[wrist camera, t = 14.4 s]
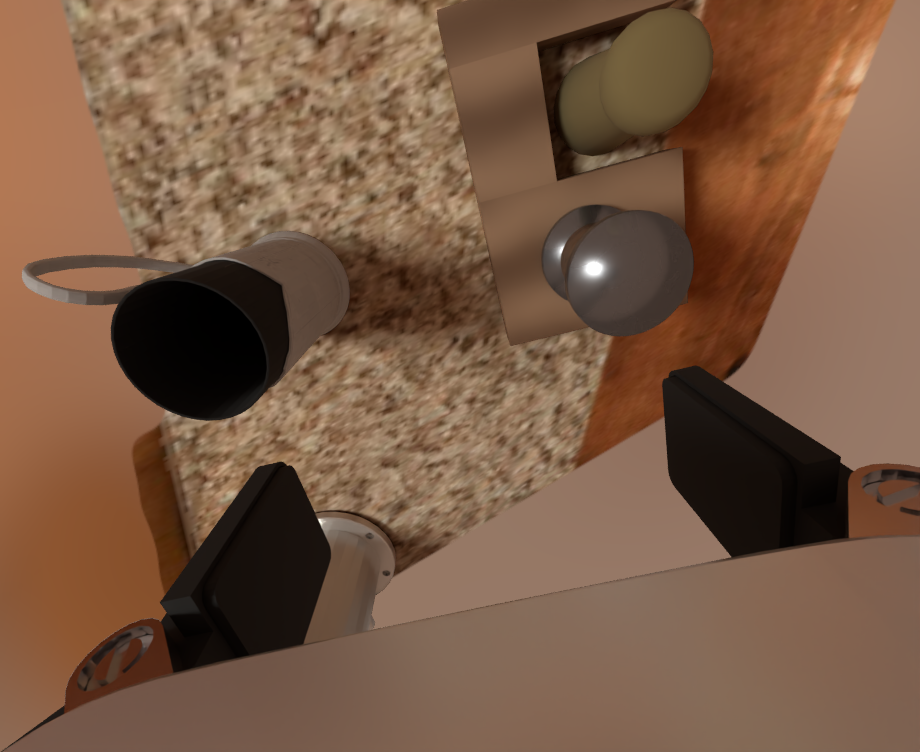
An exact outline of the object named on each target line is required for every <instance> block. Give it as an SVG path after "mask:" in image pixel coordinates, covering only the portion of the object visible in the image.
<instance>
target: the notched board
mask: <svg viewBox="0 0 920 752" xmlns="http://www.w3.org/2000/svg"><path fill="white" fill-rule="evenodd" d="M675 1H676V0H467V1H464V2H461V3H458V4H455V5H451V6H448V7H445V8H442V9H439V10H437V17H438V26H439V30H440V35H441V39H442V44H443V48H444V53H445V57H446V62H447V66H448V71H449V75H450V80H451V85H452V89H453V94H454V98H455V103H456V107H457V112H458V116H459V121H460V125H461V130H462V134H463V139H464V143H465V148H466V152H467V157H468V161H469V166H470V170H471V175H472V179H473V184H474V188H475V193H476V197H477V202H478V207H479V211H480V216H481V220H482V225H483V229H484V234H485V238H486V243H487V247H488V252H489V256H490V261H491V265H492V270H493V274H494V279H495V283H496V288H497V292H498V297H499V301H500V306H501V310H502V315H503V320H504V324H505V329H506V333H507V337H508V340H509V343H510V346H513V345H517V344H521V343H525V342H529V341H534V340H538V339H542V338H546V337H550V336H554V335H558V334H562V333H567V332H571V331H575V330H579V329H583V328H587V327H589V326H588V325H586V324H585V323H584V322H583V321H582V320H581V319H580V318H579V317H578V316H577V314H576V313H575V312H574V310H573V309H572V307H571V305H570V303H569V301H567V300H565V299H563V298H562V297H560V296H559V295H558V294H557V293H556V292H555V291H554V290H553V289H552V288H551V287H550V285H549V284H548V282H547V281H546V279H545V276H544V274H543V270H542V263H541V255H542V248H543V245H544V241H545V239H546V237H547V235H548V233H549V231H550V229H551V228H552V227H553V225H554V224H555V223H556V222H557V221H558V220H559V219H560V218H561V217H562V216H563V215H565V214H566V213H568V212H569V211H571V210H573V209H575V208H578V207H581V206H585V205H591V204H598V205H607V206H611V207H614V208H616V209H618V210H620V211H626V210H646V211H652V212H656V213H660V214H662V215H665V216H667V217H668V218H670V219H672V220H673V221H674V222H676V223H677V224H678V225H679V226H680V227H681V228H682V230H683V231H684V232H685V205H684V177H683V149H682V147H679V148H673V149H667V150H663V151H659V152H656V153H652V154H648V155H645V156H641V157H637V158H634V159H630V160H627V161H623V162H619V163H616V164H612V165H608V166H605V167H601V168H598V169H594V170H590V171H587V172H583V173H579V174H576V175H572V176H569V177H565V178H561V179H558V180H557V178H556V172H555V165H554V158H553V151H552V145H551V138H550V131H549V124H548V117H547V111H546V104H545V97H544V90H543V83H542V77H541V70H540V63H539V56H538V51H541V50H545V49H548V48H551V47H554V46H558V45H561V44H564V43H568V42H571V41H574V40H577V39H581V38H584V37H587V36H591V35H594V34H597V33H600V32H604V31H607V30H610V29H613V28H617V27H620V26H623V25H627V24H630V23H631V22H633V21H634V20H636V19H638V18H639V17H641V16H643V15H644V14H646V13H648V12H651V11H656V10H661V9H666V8H667V7H669V6H670V5H671V4H672V3H673V2H675ZM685 234H686V233H685ZM686 303H688V291H687V293H686V295H685V297H684V298H683V300H682V302H681V303H680V304H679V305H682V304H686Z"/></svg>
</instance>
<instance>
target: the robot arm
mask: <svg viewBox="0 0 920 752" xmlns="http://www.w3.org/2000/svg"><path fill="white" fill-rule="evenodd" d="M662 387H663V402H664V416H665V430H666V445H667V459H668V471H669V476H670V479H671V481H672V483H673V485H674V486H675V488H676V489H677V490H678V492H679V493H680V494H681V495H682V496H683V498H684V499H685V500H686V501H687V503H688V504H689V505H690V506H691V507H692V509H693V510H694V511H695V512H696V514H697V515H698V516H699V517H700V519H701V520H702V521H703V522H704V523H705V525H706V526H707V527H708V528H709V530H710V531H711V532H712V533H713V534H714V536H715V537H716V538H717V539H718V541H719V542H720V543H721V544H722V546H723V547H724V548H725V549H726V551H727V552H728V553H729V554H730V556H731V558H726V559H721V560H716V561H711V562H706V563H701V564H696V565H691V566H686V567H681V568H676V569H671V570H666V571H661V572H655V573H650V574H645V575H640V576H635V577H630V578H625V579H620V580H616V581H610V582H605V583H600V584H596V585H590V586H585V587H580V588H575V589H570V590H565V591H560V592H555V593H550V594H546V595H540V596H536V597H530V598H525V599H520V600H515V601H510V602H505V603H500V604H495V605H491V606H486V607H481V608H476V609H471V610H467V611H461V612H457V613H452V614H447V615H442V616H437V617H432V618H427V619H422V620H418V621H413V622H408V623H403V624H398V625H393V626H388V627H383V628H378V629H374V630H372V629H373V628H374V625H375V621H374V619H373V618H372V615H371V614H372V609H373V604H374V599H375V595H377V594H378V593H380V592H381V591H382V590H383V589H384V588H385V587H386V586H387V585H388V584H389V583H390V581H391V579H392V577H393V574H394V570H395V563H396V555H395V550H394V547H393V545H392V543H391V541H390V539H389V538H388V537H387V535H386V534H385V533H384V532H383V531H382V530H381V529H380V528H379V527H377V526H376V525H374V524H373V523H371V522H370V521H368V520H365V519H363V518H361V517H359V516H355V515H352V514H348V513H341V512H321V513H315V512H314V510H313V508H312V506H311V503H310V501H309V499H308V497H307V495H306V493H305V491H304V488H303V486H302V484H301V482H300V480H299V478H298V475H297V473H296V471H295V469H294V468H293V467H292V466H290V465H289V466H287V465H286V464H285V463H284V462H277V463H273V464H268V465H264V466H260V467H258V468H257V469H256V470H255V471H254V473H253V474H252V476H251V477H250V478H249V480H248V481H247V482H246V484H245V485H244V487H243V488H242V489H241V491H240V492H239V494H238V495H237V496H236V498H235V499H234V500H233V502H232V503H231V505H230V506H229V507H228V509H227V510H226V512H225V513H224V514H223V516H222V517H221V519H220V520H219V521H218V523H217V524H216V525H215V527H214V528H213V530H212V531H211V532H210V534H209V535H208V537H207V538H206V539H205V541H204V542H203V543H202V545H201V546H200V548H199V549H198V550H197V552H196V553H195V555H194V556H193V557H192V559H191V560H190V562H189V563H188V564H187V566H186V567H185V568H184V570H183V571H182V573H181V574H180V575H179V577H178V578H177V580H176V581H175V582H174V584H173V585H172V586H171V588H170V589H169V591H168V592H167V593H166V595H165V596H164V598H163V599H162V600H161V602H160V604H161V605H162V606H163V608H164V609H165V610H166V612H167V613H166V615H165V616H164V618H163V619H162V621H161V622H160V621H159V620H157V619H153V618H149V619H142V620H139V621H137V622H134V623H131V624H128V625H127V626H125V627H123V628H121V629H120V630H118V631H116V632H114V633H113V634H112V635H110V636H109V637H107V638H106V639H105V640H103V641H102V642H101V643H99V644H98V645H97V646H96V647H95V648H94V649H93V650H92V651H91V652H90V653H88V654H87V656H86V657H85V658H84V659H83V660H82V661H81V662H80V664H79V665H78V666H77V667H76V669H75V670H74V672H73V674H72V676H71V677H70V678H69V681H68V684H67V688H66V692H65V705H64V706H63V707H62V708H60V709H59V710H58V711H56V712H55V713H54V714H52V715H51V716H49V717H48V718H47V719H45V720H44V721H43V722H41V723H40V724H38V725H37V726H36V727H34V728H33V729H32V730H30V731H29V732H28V733H26V734H25V735H23V736H22V737H21V738H19V739H18V740H17V741H15V742H14V743H12V744H11V745H10V746H8V747H7V748H6V749H4V750H3V751H2V752H920V467H915V466H910V465H901V464H873V465H869V466H865V467H861V468H858V469H857V470H856V471H852V470H851V469H849V468H848V467H846V466H845V465H843V464H842V463H840V460H841V457H840V456H839V455H837V454H836V453H834V452H832V451H831V450H829V449H828V448H826V447H825V446H823V445H822V444H820V443H818V442H817V441H815V440H814V439H812V438H811V437H809V436H807V435H806V434H804V433H803V432H801V431H800V430H798V429H796V428H795V427H793V426H792V425H790V424H789V423H787V422H785V421H784V420H782V419H781V418H779V417H778V416H776V415H774V414H773V413H771V412H770V411H768V410H767V409H765V408H763V407H762V406H760V405H759V404H757V403H755V402H754V401H752V400H751V399H749V398H748V397H746V396H744V395H743V394H741V393H740V392H738V391H737V390H735V389H733V388H732V387H730V386H729V385H727V384H726V383H724V382H722V381H721V380H719V379H718V378H716V377H715V376H713V375H711V374H710V373H708V372H707V371H705V370H704V369H702V368H700V367H699V366H692V367H687V368H683V369H679V370H674V371H671V372H670V373H669V378H666V379H664V380H663V383H662Z"/></svg>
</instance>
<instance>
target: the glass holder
mask: <svg viewBox="0 0 920 752" xmlns="http://www.w3.org/2000/svg"><path fill="white" fill-rule="evenodd" d="M89 267H123V268H140V269H150V270H158V271H166V272H174V273H173V274H169V275H166V276H163V277H160V278H157V279H153V280H150V281H147V282H145V283H143V284H141V285H136V286H131V287H128V288H124V289H119V290H113V291H81V290H75V289H67V288H63V287H59V286H55V285H52V284H50V283H47V282H44V281H42V280H41V279H39V278H37V277H36V276H39V275H42V274H45V273H48V272H54V271H61V270H67V269H75V268H89ZM22 279H23V281H24V283H25V285H26V286H27V288H29V289H31V290H32V291H34V292H36V293H37V294H40V295H43V296H45V297H48V298H50V299H54V300H58V301H63V302H67V303H75V304H83V305H109V304H118V303H119V304H118V305H117V308H116V310H115V312H114V315H113V319H112V325H111V341H112V345H113V350H114V353H115V356H116V358H117V360H118V363H119V365H120V367H121V368H122V370H123V372H124V373H125V375H126V376H127V378H128V379H129V380H130V381H131V383H132V384H133V385H134V386H135V387H136V388H137V389H138V390H139V391H140V392H141V393H142V394H143V395H144V396H145V397H147V398H148V399H150V400H151V401H152V402H154V403H155V404H156V405H158V406H160V407H162V408H164V409H166V410H168V411H170V412H172V413H175V414H177V415H180V416H183V417H187V418H191V419H196V420H207V421H209V420H222V419H226V418H231V417H234V416H236V415H238V414H241V413H243V412H244V411H246V410H247V409H249V408H250V407H251V406H252V405H253V404H254V403H255V402H256V401H257V400H258V399H259V398H260V397H261V396H262V395H263V394H264V393H265V392H266V391H267V390H268V388H270V387H273V386H275V385H276V384H277V383H278V382H279V381H280V380H281V379H282V378H283V377H284V376H285V375H286V373H287V372H288V371H289V370H290V369H291V368H292V367H293V366H294V364H295V363H296V362H297V361H298V360H299V359H300V358H301V357H302V356H303V354H304V353H305V352H306V351H307V350H308V349H309V348H310V347H311V345H312V344H313V343H314V342H315V341H316V340H317V339H318V338H319V336H321V335H323V334H326V333H328V332H329V331H330V330H332V329H333V328H335V327H336V326H337V325H338V324H339V323H340V321H341V320H342V318H343V317H344V315H345V313H346V310H347V308H348V304H349V299H350V287H349V281H348V278H347V275H346V272H345V269H344V267H343V266H342V264H341V262H340V260H339V259H338V258H337V256H336V255H335V254H334V253H333V252H332V251H331V250H330V249H329V248H328V247H327V246H326V245H325V244H323V243H322V242H320V241H319V240H317V239H315V238H313V237H311V236H309V235H306V234H303V233H300V232H294V231H279V232H275V233H271V234H268V235H266V236H264V237H262V238H260V239H259V240H258V241H256V242H255V243H254V244H253V245H252V246H250V247H246V248H243V249H240V250H236V251H233V252H229V253H226V254H223V255H219V256H216V257H213V258H209V259H206V260H203V261H201V262H199V263H197V264H195V265H189V264H183V263H177V262H170V261H163V260H156V259H149V258H141V257H134V256H114V255H81V256H64V257H57V258H50V259H43V260H39V261H36V262H33V263H29V264H27V265H26V267H25V268H24V269H23V271H22Z"/></svg>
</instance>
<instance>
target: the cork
mask: <svg viewBox="0 0 920 752" xmlns="http://www.w3.org/2000/svg"><path fill="white" fill-rule="evenodd" d="M712 66H713V49H712V45H711V40H710V36H709V33H708V32H707V30H706V29H705V27H704V26H703V24H702V22H701V21H700V20H699V19H698V18H696V17H695V16H694V15H692V14H691V13H689V12H688V11H686V10H681V9H675V8H666V9H661V10H656V11H651V12H648V13H646V14H644V15H643V16H641V17H639V18H638V19H636V20H634V21H633V22H631V23H630V24H629V25H628V26H627V27H626V28H625V30H624V31H623V32H622V33H621V34H620V35H619V36H618V37H617V38H616V39H615V41H614V42H613V44H612V46H611V48H610V49H608V50H605V51H603V52H600V53H598V54H595V55H593V56H590V57H588V58H586V59H585V60H583V61H581V62H580V63H578V64H576V65H575V66H574V67H573V68H572V69H571V70H570V71H569V73H568V74H567V75H566V76H565V77H564V79H563V81H562V83H561V85H560V87H559V89H558V91H557V94H556V99H555V105H554V118H555V125H556V128H557V130H558V133H559V136H560V138H561V139H562V140H563V141H564V143H565V144H566V145H567V146H568V147H569V148H570V149H572V150H574V151H575V152H577V153H579V154H583V155H589V156H595V155H600V154H605V153H607V152H609V151H611V150H613V149H614V148H616V147H618V146H619V145H621V144H622V143H624V142H625V141H627V140H628V139H630V138H631V137H632V136H634V135H637V136H648V135H653V134H658V133H663V132H665V131H667V130H669V129H670V128H672V127H674V126H676V125H678V124H679V123H680V122H681V121H682V120H683V119H684V118H685V117H686V116H687V115H689V114H690V113H691V112H692V111H693V110H694V109H695V108H696V106H697V105H698V103H699V101H700V100H701V98H702V97H703V95H704V93H705V92H706V89H707V86H708V83H709V80H710V77H711V74H712Z"/></svg>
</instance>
